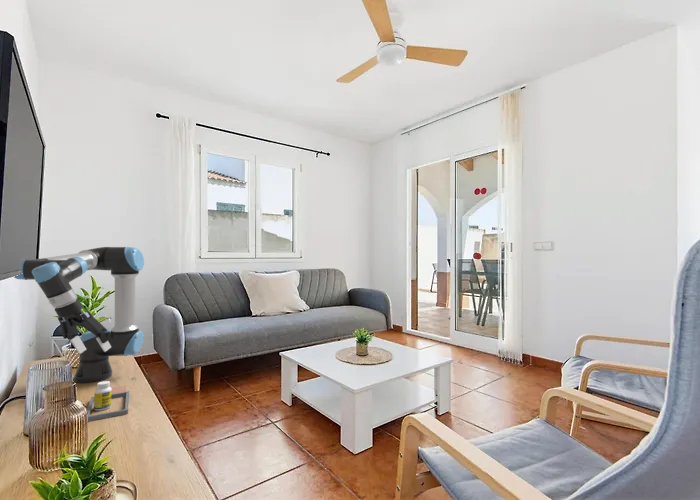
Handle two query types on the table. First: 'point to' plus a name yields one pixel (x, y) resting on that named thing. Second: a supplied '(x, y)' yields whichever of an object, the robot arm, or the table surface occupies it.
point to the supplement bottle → (102, 396)
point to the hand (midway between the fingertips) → (95, 350)
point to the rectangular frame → (109, 414)
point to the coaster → (118, 389)
